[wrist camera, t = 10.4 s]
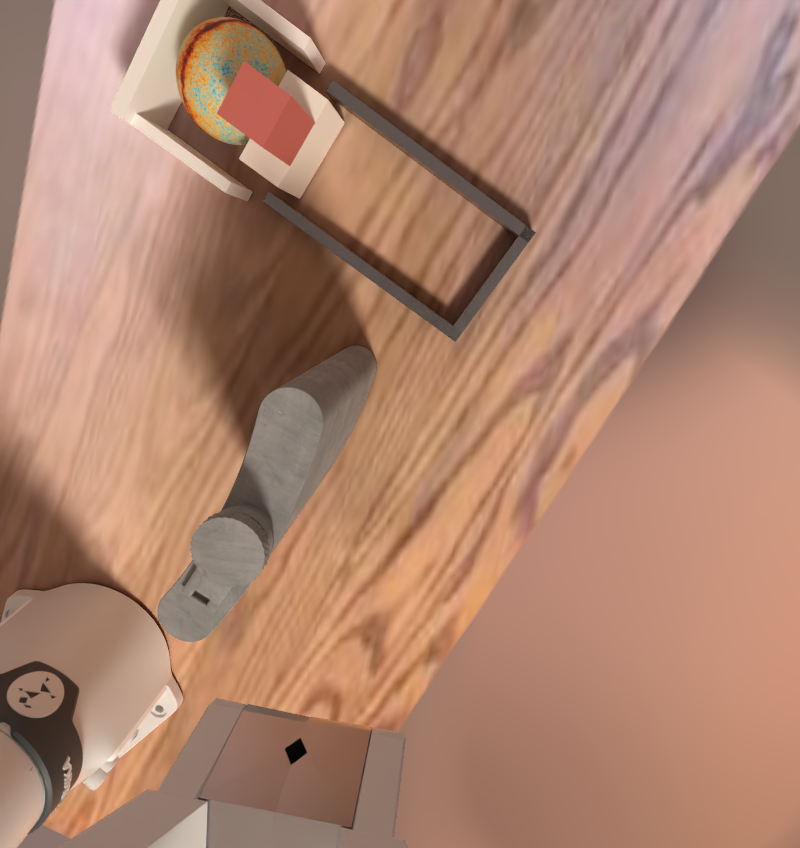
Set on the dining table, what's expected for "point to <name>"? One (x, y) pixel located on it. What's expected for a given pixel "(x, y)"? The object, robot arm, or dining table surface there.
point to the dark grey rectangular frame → (445, 176)
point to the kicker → (281, 127)
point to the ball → (221, 70)
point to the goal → (156, 74)
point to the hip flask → (269, 488)
